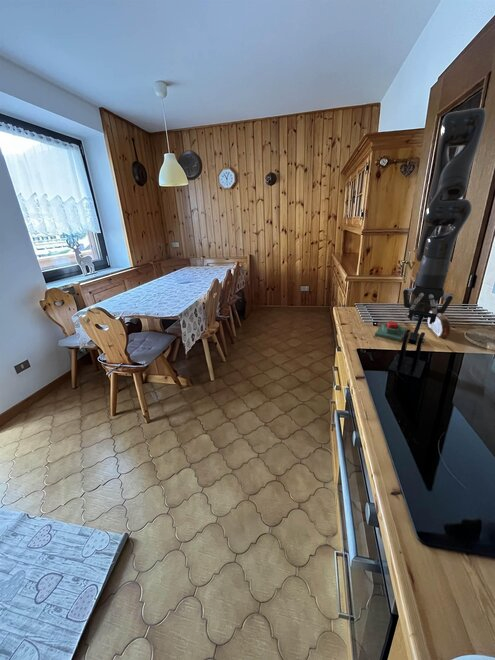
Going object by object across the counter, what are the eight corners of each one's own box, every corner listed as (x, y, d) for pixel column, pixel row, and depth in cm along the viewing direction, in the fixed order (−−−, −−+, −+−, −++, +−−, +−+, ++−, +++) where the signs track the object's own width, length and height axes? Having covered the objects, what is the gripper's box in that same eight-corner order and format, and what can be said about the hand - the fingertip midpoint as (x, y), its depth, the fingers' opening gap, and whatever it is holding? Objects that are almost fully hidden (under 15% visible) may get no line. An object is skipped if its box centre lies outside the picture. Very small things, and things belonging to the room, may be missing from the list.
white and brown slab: (447, 342, 106) (453, 321, 102) (438, 341, 106) (444, 321, 103) (432, 324, 119) (437, 306, 115) (424, 324, 119) (428, 306, 116)
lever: (414, 313, 95) (415, 308, 93) (431, 316, 92) (432, 311, 91) (403, 342, 89) (403, 337, 88) (421, 346, 87) (421, 341, 85)
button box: (382, 327, 119) (383, 318, 117) (405, 332, 114) (407, 323, 112) (374, 337, 112) (376, 328, 110) (399, 343, 106) (401, 334, 105)
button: (388, 324, 114) (388, 320, 113) (398, 326, 111) (398, 322, 111) (385, 327, 111) (386, 323, 110) (395, 330, 109) (396, 326, 108)
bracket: (395, 356, 99) (402, 323, 93) (425, 364, 94) (434, 330, 88) (387, 371, 91) (394, 337, 86) (418, 381, 86) (428, 344, 81)
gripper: (462, 270, 85) (447, 322, 92) (409, 265, 93) (399, 313, 100) (460, 277, 80) (444, 330, 87) (404, 271, 88) (394, 320, 95)
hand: (420, 321), depth 94 cm, fingers closed on lever, 5 cm apart
